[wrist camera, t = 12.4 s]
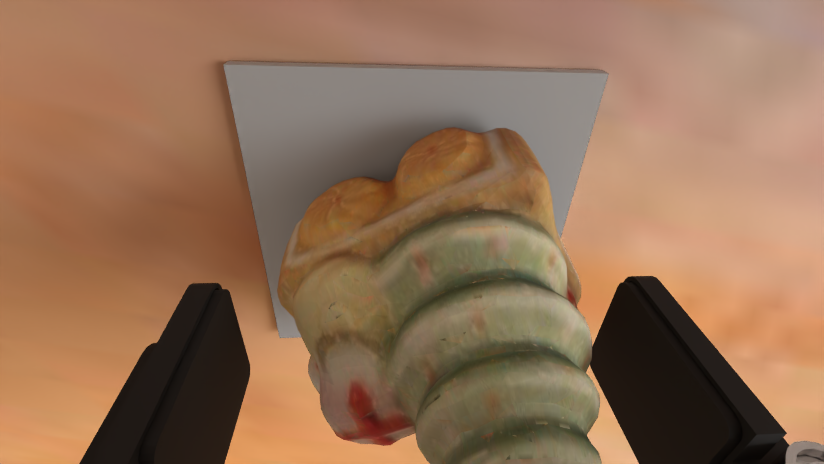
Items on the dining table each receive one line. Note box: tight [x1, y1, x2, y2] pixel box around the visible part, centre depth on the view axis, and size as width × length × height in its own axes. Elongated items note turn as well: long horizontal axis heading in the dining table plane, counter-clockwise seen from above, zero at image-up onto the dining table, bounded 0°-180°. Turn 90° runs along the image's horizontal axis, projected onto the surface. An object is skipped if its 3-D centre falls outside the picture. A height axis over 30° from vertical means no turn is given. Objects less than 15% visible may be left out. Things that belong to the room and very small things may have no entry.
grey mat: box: [224, 61, 608, 338], centre depth 14 cm, size 10×10×1 cm
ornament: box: [277, 127, 601, 464], centre depth 10 cm, size 8×6×10 cm
